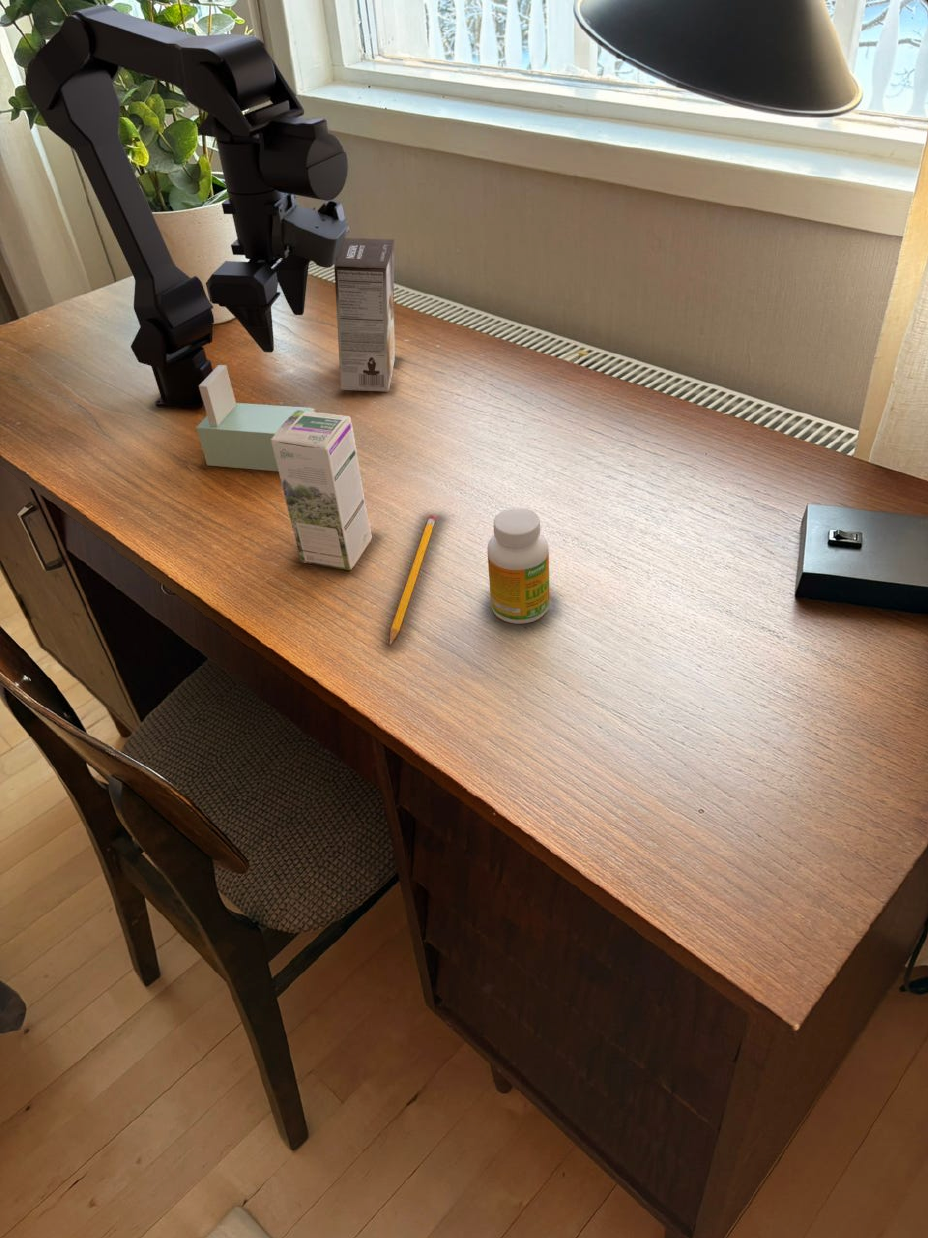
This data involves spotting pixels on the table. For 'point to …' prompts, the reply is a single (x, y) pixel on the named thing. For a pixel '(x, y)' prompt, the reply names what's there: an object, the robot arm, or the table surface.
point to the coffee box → (365, 313)
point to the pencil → (412, 578)
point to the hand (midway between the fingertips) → (284, 332)
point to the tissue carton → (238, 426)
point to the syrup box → (323, 488)
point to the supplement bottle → (518, 567)
